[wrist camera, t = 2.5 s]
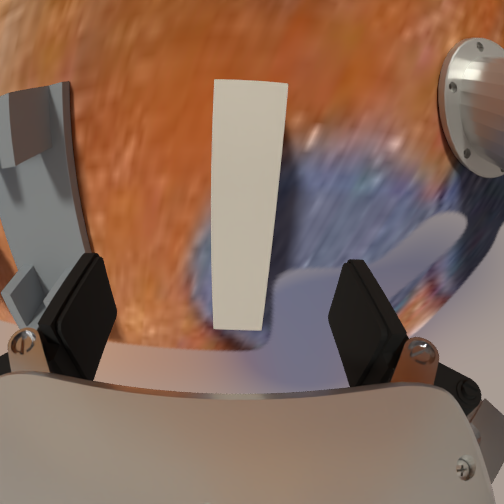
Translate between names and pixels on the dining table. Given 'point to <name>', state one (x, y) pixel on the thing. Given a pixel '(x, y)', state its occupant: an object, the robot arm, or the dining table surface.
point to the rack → (39, 198)
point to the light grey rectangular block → (244, 196)
